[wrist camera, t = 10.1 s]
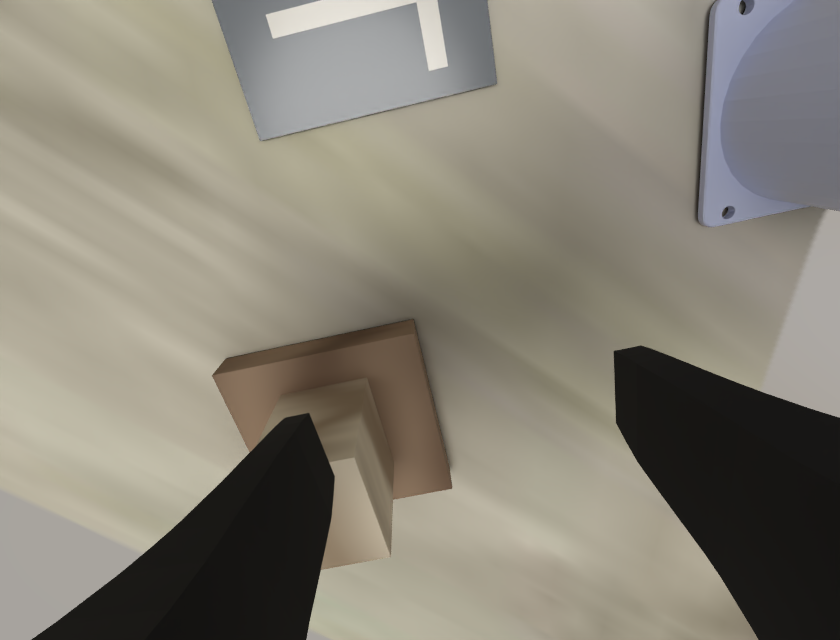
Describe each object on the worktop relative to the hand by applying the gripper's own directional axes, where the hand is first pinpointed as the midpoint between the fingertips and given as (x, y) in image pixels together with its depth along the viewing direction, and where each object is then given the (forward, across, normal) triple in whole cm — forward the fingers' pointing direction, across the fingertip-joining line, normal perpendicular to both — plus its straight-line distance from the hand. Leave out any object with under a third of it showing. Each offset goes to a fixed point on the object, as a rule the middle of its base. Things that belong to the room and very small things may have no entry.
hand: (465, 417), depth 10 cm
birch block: (+8, +6, +5) cm, 11 cm away
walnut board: (+9, +6, +6) cm, 12 cm away
